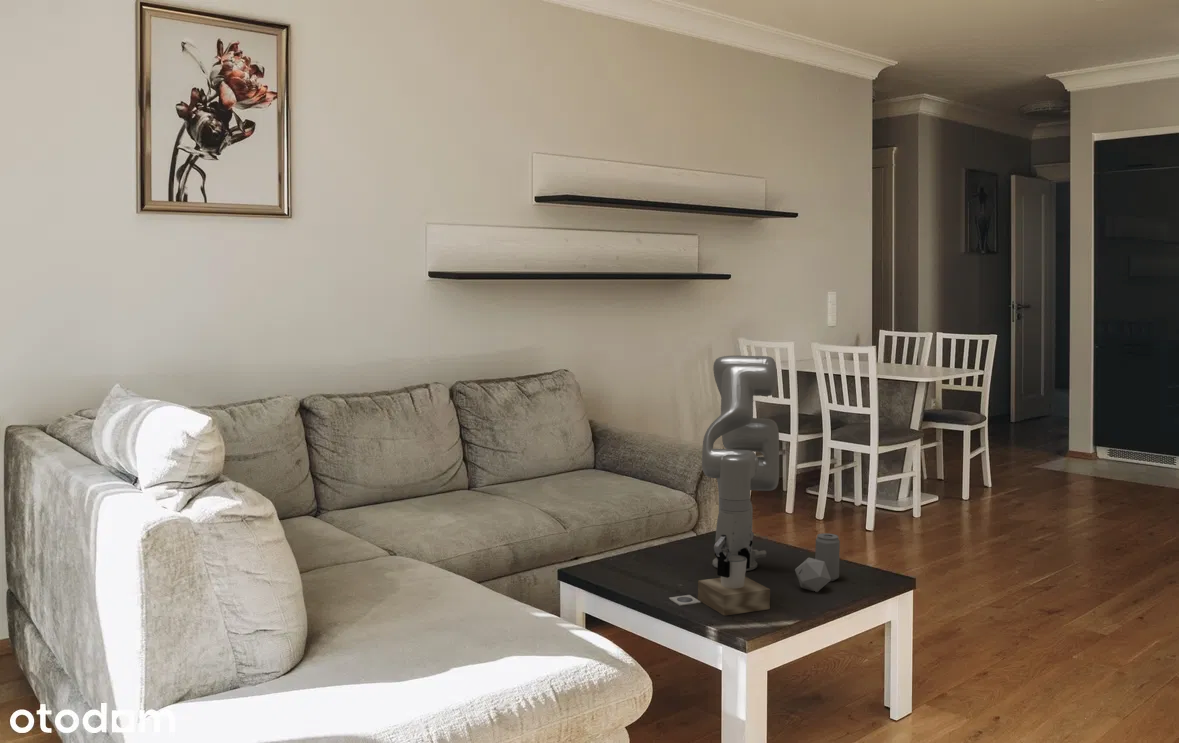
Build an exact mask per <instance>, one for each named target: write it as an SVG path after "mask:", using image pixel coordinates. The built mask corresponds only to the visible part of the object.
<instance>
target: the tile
mask: <svg viewBox="0 0 1179 743" xmlns="http://www.w3.org/2000/svg"><path fill="white" fill-rule="evenodd" d="M668 600H669V601H671V602H673V603H675V604H676V605H678V606H679V607H681V606H682V607H683V606H689V605H698V604H701V603H702V602H701V601H699V600H698V598H695V597H694V596H692V595H691V594H686V595H678V596H671V597H668Z"/></svg>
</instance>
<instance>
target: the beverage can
mask: <svg viewBox="0 0 1179 743" xmlns="http://www.w3.org/2000/svg"><path fill="white" fill-rule="evenodd" d="M840 543H841V541H840V538H839V535H837V534H834V533H829V532H828V533H826V532H825V533H823V532H822V533H818V534H816V538H815V548H814V549H815V551H814V552H815V553H814V554H815V556H814V559H817V560H820V561H824V562H825V564H826V567H827V570H828V573H829V576H830V578H831V580H830V581H829V582H834V581H836V580H837V579H839V577H840V553H841V552H840V548H841V547H840Z"/></svg>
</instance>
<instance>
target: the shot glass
mask: <svg viewBox="0 0 1179 743" xmlns="http://www.w3.org/2000/svg"><path fill="white" fill-rule="evenodd" d="M728 561H729V562H730V577H728V578H726V577H722V576H720V578H721V585H722V586H723V587H726V588H732V589H737V588H742V587H743V586H744V581H745V577H746V572H747V571H746V563H747V558H746V557H744V556H740V555H730V557H729V560H728Z"/></svg>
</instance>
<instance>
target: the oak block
mask: <svg viewBox="0 0 1179 743" xmlns="http://www.w3.org/2000/svg"><path fill="white" fill-rule="evenodd" d="M697 600H699V601H700V602H701V603H702V604H704V605H706V606H707V607H709V608H711V609H712V610H714V611H716V612H717V613H719V614H721V615H722V616H724V617H725V616H732V615H739V614H745V613H752V612H758V611H759V612H760V611H765V610H770V608H771V606H770V605H771V589H770V588H769V587H766V586H765V585H763V584H761V583H758V582H757V581H755V580H753V579H751V578H749V577H748V576H745V581H744V586H743V587H742V588H737V589H732V588H726V587H723V586H722V585H721V577H717V578H708V579H700V580H697Z"/></svg>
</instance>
